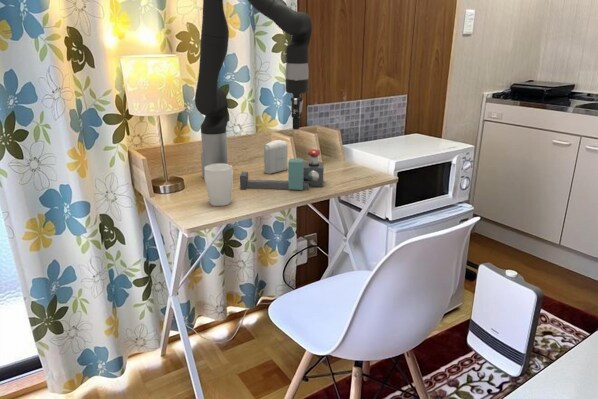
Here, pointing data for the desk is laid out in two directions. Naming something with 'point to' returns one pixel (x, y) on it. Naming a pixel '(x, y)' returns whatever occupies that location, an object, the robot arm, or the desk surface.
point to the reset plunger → (313, 157)
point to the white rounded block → (275, 156)
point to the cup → (219, 183)
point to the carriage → (295, 174)
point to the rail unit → (311, 178)
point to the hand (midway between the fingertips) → (296, 126)
